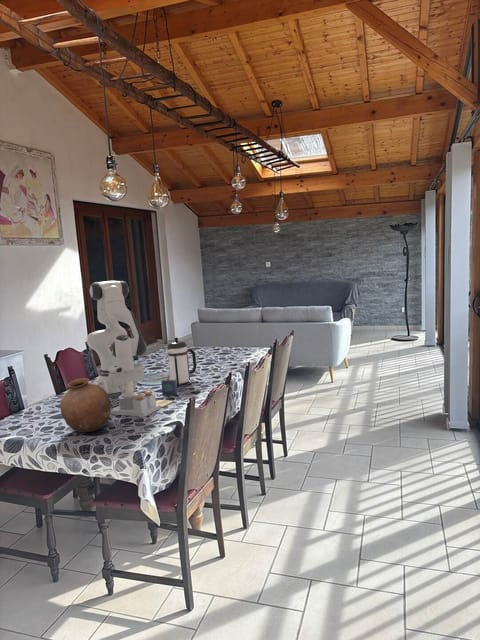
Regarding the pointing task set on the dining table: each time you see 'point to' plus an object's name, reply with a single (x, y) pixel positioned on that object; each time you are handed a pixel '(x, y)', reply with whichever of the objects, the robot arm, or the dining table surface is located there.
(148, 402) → the housing
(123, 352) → the robot arm
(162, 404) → the trivet
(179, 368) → the coffee press
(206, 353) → the dining table surface
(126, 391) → the cartridge
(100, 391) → the pottery
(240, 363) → the dining table surface
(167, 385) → the dark blue rectangular block
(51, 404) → the dining table surface
